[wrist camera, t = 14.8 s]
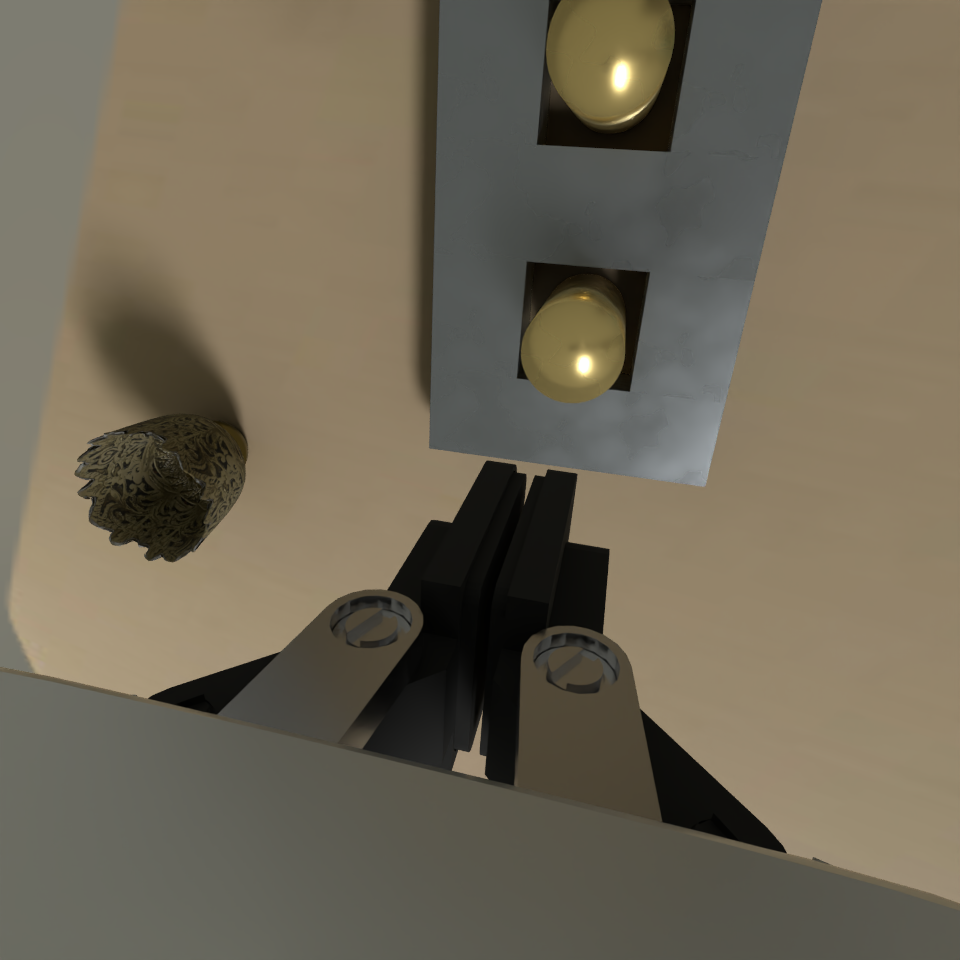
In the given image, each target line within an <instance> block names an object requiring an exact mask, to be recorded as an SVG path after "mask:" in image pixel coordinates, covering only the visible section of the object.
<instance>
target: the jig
mask: <svg viewBox="0 0 960 960" xmlns="http://www.w3.org/2000/svg"><path fill="white" fill-rule="evenodd" d="M668 1H669V4H670V5H692V6H691V12H690V18H689V24H688V30H687V36H686V42H685V48H684V54H683V60H682V66H681V72H680V78H679V84H678V90H677V96H676V102H675V108H674V113H673V119H672V125H671V131H670V137H669V143H668V149H667V152H658V151H640V150H622V149H604V148H585V147H567V146H549V145H546V135H547V124H548V113H549V102H550V91H551V77H550V74H549V70H548V65H547V57H546V43H547V36H548V31H549V27H550V23H551V20H552V18H553V15H554V13H555V11H556V9H557V7H558V3H560V2H561V0H440V14H439V56H438V99H437V142H436V184H435V227H434V270H433V312H432V355H431V398H430V440H429V448H431V449H438V450H445V451H453V452H460V453H467V454H474V455H481V456H488V457H496V458H503V459H510V460H517V461H524V462H532V463H539V464H546V465H553V466H560V467H567V468H575V469H582V470H589V471H596V472H603V473H610V474H618V475H625V476H632V477H639V478H646V479H654V480H661V481H668V482H675V483H682V484H689V485H697V486H704V487H705V485H706V481H707V476H708V472H709V468H710V464H711V460H712V456H713V452H714V447H715V443H716V439H717V435H718V431H719V427H720V422H721V418H722V414H723V410H724V406H725V402H726V398H727V393H728V389H729V385H730V381H731V377H732V373H733V368H734V364H735V360H736V356H737V352H738V348H739V344H740V339H741V335H742V331H743V327H744V323H745V319H746V315H747V310H748V306H749V302H750V298H751V294H752V290H753V285H754V281H755V277H756V273H757V269H758V265H759V261H760V256H761V252H762V248H763V244H764V240H765V236H766V231H767V227H768V223H769V219H770V215H771V211H772V207H773V202H774V198H775V194H776V190H777V186H778V182H779V177H780V173H781V169H782V165H783V161H784V157H785V153H786V148H787V144H788V140H789V136H790V132H791V128H792V123H793V119H794V115H795V111H796V107H797V103H798V99H799V94H800V90H801V86H802V82H803V78H804V74H805V70H806V65H807V61H808V57H809V53H810V49H811V45H812V40H813V36H814V32H815V28H816V24H817V20H818V16H819V11H820V7H821V3H822V0H668ZM535 262H539V263H550V264H562V265H574V266H585V267H597V268H608V269H620V270H632V271H643V272H647V275H646V281H645V287H644V293H643V299H642V305H641V311H640V317H639V323H638V329H637V335H636V341H635V347H634V353H633V359H632V365H631V371H630V375H629V374H619V376H618V378H617V380H616V381H615V382H614V384H613V385H612V386H611V387H610V388H609V389H608V390H607V391H606V392H604V393H603V394H602V395H600V396H598V397H596V398H594V399H592V400H589V401H586V402H581V403H563V402H559V401H556V400H553V399H551V398H548V397H547V396H545V395H543V394H542V393H541V392H539V391H538V390H537V389H536V388H535V387H534V386H533V385H532V383H531V382H530V381H529V379H528V377H527V376H526V374H525V371H524V369H523V365H522V360H521V346H522V340H523V337H524V334H525V332H526V330H527V328H528V326H529V321H530V310H531V299H532V289H533V278H534V267H535Z"/></svg>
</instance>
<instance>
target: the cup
mask: <svg viewBox="0 0 960 960" xmlns="http://www.w3.org/2000/svg"><path fill="white" fill-rule="evenodd" d="M87 444H91V445H93V446H92V447H90V448H88V450H87V451H86V452H85V453H83V454H82V455H81V456H80V457H79V458H78V459H77V461H78V462H84V463H82V464H80V466H79V467H78V469H77V470H76V471H75V476H77V477H79V478H81V479H85V480H89V479H91V480H90V481H89V482H88V483H87V484H86V485H85V486H84V487H82V488H81V489H80V490H79V491H78V492H77V493H78V495H79V496H81V497H83V498H85V499H90V498H89V497H92V498H91V499H92V506H91V507H90V510H89V521H90V523H91V524H93V525H94V526H96V527H98V528H101V529H103V530H107V531H109V532H112V533H111V534H110V537H109V540H110V542H111V544H112V545H115V546H121V545H124V543H125V544H127V543H129V542H133V541H135V542H137V543H138V546H139V547H147V548H148V551H147V552H146V555H145V554H144V557H145V558H146V559H147V560H148V561H153V560H156V559H158V558H161V557H163V558H164V560H165V561H168V562H175V561H177V560H179V559H181V558H182V557H184V556H185V555H187V554H188V553H189V552H190V551H192V552H194V551H195V550H196V549H197V548H198V547H199V545H200V544H201V543H202V542H203V541H204V539H205V538H206V537H207V536H208V535H209V534H210V533H211V532H212V531H213V529H214V528H215V527H216V526H217V525H218V524H219V523H220V522H221V520H222V519H223V518H224V517H225V516H226V515H227V513H228V512H229V511H230V510H231V508H232V507H233V505H234V504H235V503H236V501H237V499H238V497H239V496H240V494H241V492H242V489H243V486H244V482H245V475H246V473H245V464H246V461H247V458H248V447H247V443H246V441H245V439H244V437H243V435H242V434H241V433H240V432H239V431H238V430H237V429H236V428H235V427H234V426H232V425H230V424H228V423H226V422H223V421H216V420H209V419H206V418H204V417H201V416H197V415H190V414H173V415H166V416H162V417H158V418H154V419H150V420H147V421H144V422H140V423H137V424H134V425H131V426H128V427H125V428H122V429H119V430H116V431H113V432H108V433H104V435H103V436H100V437H97V438H95V439H93V440H91V441H89V442H88V443H87ZM132 540H133V541H132ZM128 541H129V542H128Z"/></svg>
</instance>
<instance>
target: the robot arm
mask: <svg viewBox="0 0 960 960" xmlns="http://www.w3.org/2000/svg"><path fill="white" fill-rule="evenodd" d="M576 482H577V474H576V473H569V472H562V471H555V470H549V469H548V470H547V473H546V476H545V477H543V476H536V475H535V477H534V479H533V482H532V485H531V488H530V490H529V493H528V496H527V499H526V502H525V504H524V500H525V490H526V474H523V473H517V467H516V465H515V464H508V463H501V462H494V461H486V462H485V464H484V466H483V468H482V470H481V471H480V473H479V475H478V477H477V479H476V480H475V482H474V484H473V486H472V488H471V490H470V491H469V493H468V495H467V497H466V499H465V500H464V502H463V504H462V506H461V508H460V510H459V511H458V513H457V515H456V517H455V519H454V520H453V522H452V523H450V522H444V521H438V520H431V521H430V522H429V524H428V525H427V527H426V528H425V530H424V532H423V533H422V535H421V536H420V538H419V540H418V541H417V543H416V545H415V546H414V548H413V549H412V551H411V553H410V554H409V556H408V557H407V559H406V561H405V562H404V564H403V566H402V567H401V569H400V570H399V572H398V574H397V575H396V577H395V579H394V580H393V582H392V583H391V585H390V587H389V588H388V590H363V591H358V592H353V593H350V594H347V595H345V596H343V597H340V598H338V599H337V600H335V601H334V602H332V603H331V604H330V605H328V606H327V607H326V608H325V609H324V610H323V611H322V612H321V613H320V614H319V615H318V616H317V617H316V618H315V619H314V620H313V621H312V622H311V623H310V624H309V625H308V626H307V627H306V628H305V629H304V630H303V631H302V632H301V633H300V634H299V635H298V636H297V637H296V638H295V639H293V640H292V641H291V642H290V643H289V644H288V645H287V646H286V647H285V648H284V649H283V650H282V651H281V652H279V653H275V654H272V655H269V656H266V657H263V658H260V659H257V660H254V661H251V662H248V663H245V664H242V665H239V666H236V667H233V668H229V669H226V670H223V671H220V672H217V673H214V674H211V675H208V676H205V677H202V678H199V679H196V680H193V681H190V682H187V683H183V684H180V685H177V686H174V687H171V688H169V689H166V690H164V691H162V692H159V693H157V694H155V695H152V696H151V697H149V698H148V699H146V698H142V697H138V696H137V695H129V694H125V693H121V692H116V691H112V690H107V689H103V688H99V687H94V686H90V685H85V684H81V683H77V682H72V681H68V680H64V679H59V678H55V677H50V676H45V675H40V674H35V673H29V672H24V671H19V670H14V669H8V668H3V667H0V960H960V904H959V903H957V902H954V901H951V900H948V899H945V898H943V897H940V896H937V895H934V894H931V893H928V892H924V891H921V890H917V889H914V888H910V887H907V886H903V885H900V884H896V883H892V882H889V881H885V880H882V879H878V878H875V877H871V876H868V875H864V874H860V873H857V872H853V871H850V870H846V869H843V868H839V867H836V866H833V865H830V864H828V863H826V862H823V861H821V860H819V859H817V858H814V857H813V858H812V860H811V859H807V858H803V857H799V856H795V855H791V854H787V852H786V851H785V849H784V847H783V845H782V844H781V843H780V842H779V841H778V840H777V839H776V837H775V836H774V835H773V834H772V833H771V832H770V830H769V829H768V828H767V827H766V826H765V825H764V824H763V823H761V822H760V821H759V820H758V819H757V818H756V817H755V816H754V815H753V814H752V813H751V812H750V811H749V810H748V809H747V808H745V807H744V806H743V805H742V804H741V803H740V802H739V801H738V800H737V799H736V798H735V797H734V796H733V795H732V794H731V793H729V792H728V791H727V790H726V789H725V788H724V787H723V786H722V785H721V784H720V783H719V782H718V781H717V780H716V779H715V778H713V777H712V776H711V775H710V774H709V773H708V772H707V771H706V770H705V769H704V768H703V767H702V766H701V765H700V764H699V763H697V762H696V761H695V760H694V759H693V758H692V757H691V756H690V755H689V754H688V753H687V752H686V751H685V750H684V749H683V748H681V747H680V746H679V745H678V744H677V743H676V742H675V741H674V740H673V739H672V738H671V737H670V736H669V735H668V734H667V733H665V732H664V731H663V730H662V729H661V728H660V727H659V726H658V725H657V724H656V723H655V722H654V721H653V720H652V719H651V718H650V717H648V716H647V715H646V714H645V713H644V712H643V711H642V710H641V709H640V706H639V701H638V696H637V691H636V686H635V681H634V676H633V671H632V666H631V664H630V662H629V659H628V657H627V655H626V653H625V652H624V651H623V650H622V649H621V648H620V647H619V645H618V644H617V643H615V642H614V641H612V640H611V639H609V638H608V637H606V636H605V635H603V625H604V613H605V601H606V588H607V576H608V564H609V549H606V548H600V547H594V546H588V545H582V544H576V543H570V542H568V540H569V532H570V525H571V518H572V511H573V504H574V497H575V489H576ZM482 711H483V716H482V728H481V741H480V755H483V756H486V767H485V775H486V776H487V778H488V779H489V780H488V779H484V778H480V777H475V776H471V775H467V774H463V773H459V772H455V771H452V768H453V765H454V761H455V758H456V755H457V752H458V750H462V751H466V752H470V750H471V748H472V744H473V741H474V738H475V734H476V731H477V728H478V724H479V721H480V718H481V714H482Z"/></svg>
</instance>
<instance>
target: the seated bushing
mask: <svg viewBox="0 0 960 960" xmlns="http://www.w3.org/2000/svg"><path fill="white" fill-rule="evenodd" d="M674 38H675V26H674V18H673V13H672V10H671V6H670V4H669V1H668V0H561V2H560V3H559V5H558V7H557V9H556V11H555V13H554V15H553V18H552V20H551V23H550V27H549V31H548V36H547V43H546V57H547V65H548V70H549V74H550V77H551V80H552V82H553V84H554V86H555V88H556V90H557V92H558V93H559V95H560V96H561V97H562V99H563V100H564V101H565V102H566V104H567V105H568V106H569V108H570V109H571V110H572V111H573V113H574V114H575V115H576V117H577V118H578V119H579V120H580V121H581V122H582V123H583V124H584V125H585V126H586V127H588V128H589V129H591V130H593V131H595V132H599V133H603V134H615V133H620V132H623V131H626V130H628V129H630V128H632V127H634V126H635V125H637V124H638V123H639V122H641V121H642V120H643V119H644V118H645V117H646V116H647V114H648V113H649V112H650V110H651V109H652V107H653V106H654V104H655V102H656V100H657V97H658V95H659V92H660V89H661V86H662V83H663V80H664V77H665V74H666V71H667V68H668V66H669V63H670V59H671V56H672V52H673V47H674Z"/></svg>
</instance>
